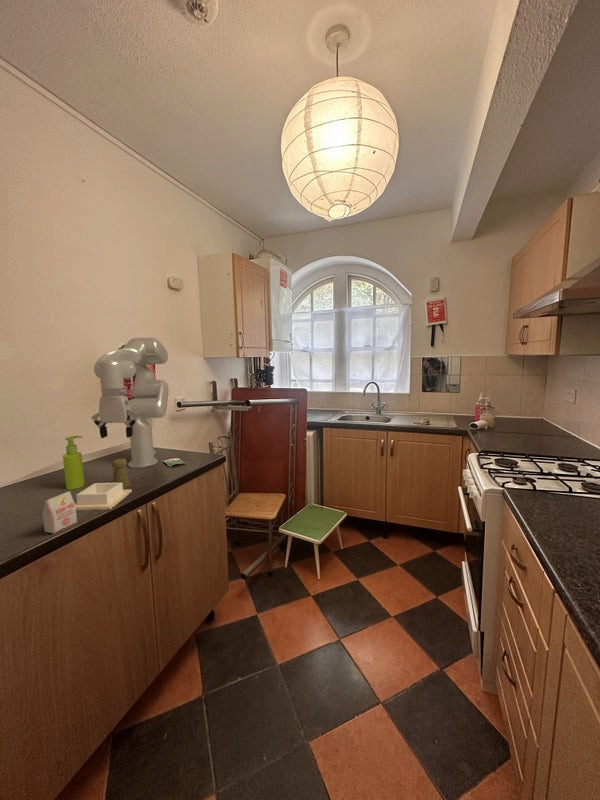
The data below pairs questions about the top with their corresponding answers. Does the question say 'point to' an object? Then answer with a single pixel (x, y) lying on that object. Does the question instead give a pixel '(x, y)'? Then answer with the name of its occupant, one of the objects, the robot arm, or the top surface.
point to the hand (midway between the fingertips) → (116, 437)
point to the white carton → (59, 512)
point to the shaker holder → (101, 496)
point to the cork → (120, 472)
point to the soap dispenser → (73, 465)
